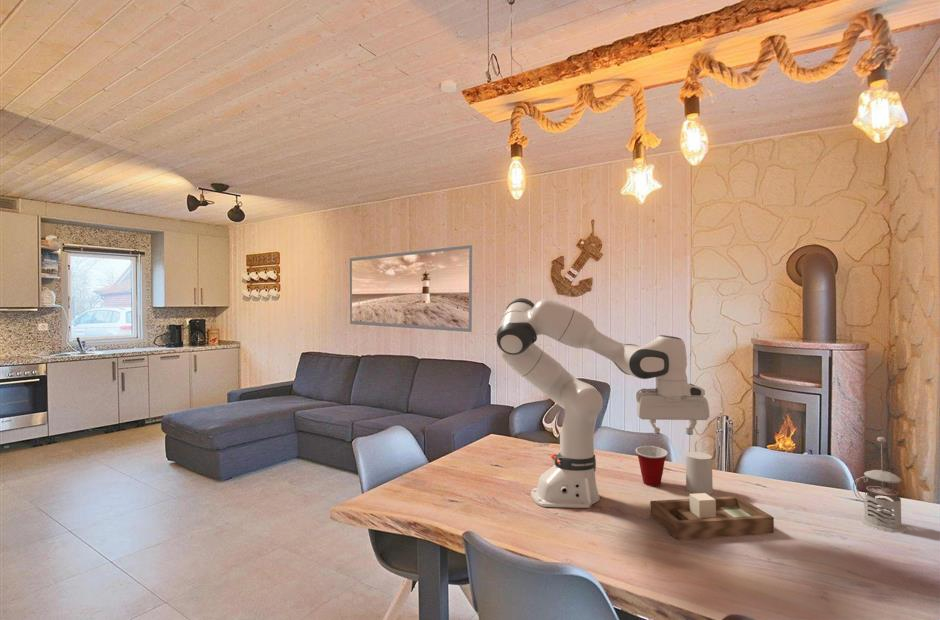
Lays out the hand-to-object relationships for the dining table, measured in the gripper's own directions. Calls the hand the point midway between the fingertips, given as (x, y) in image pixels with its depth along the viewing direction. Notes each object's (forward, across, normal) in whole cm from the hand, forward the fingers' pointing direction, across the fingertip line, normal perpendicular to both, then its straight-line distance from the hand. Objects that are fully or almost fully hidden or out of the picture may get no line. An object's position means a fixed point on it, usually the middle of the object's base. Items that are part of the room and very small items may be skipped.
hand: (673, 434), depth 142 cm
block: (+22, +7, -3) cm, 24 cm away
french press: (+25, +56, +2) cm, 61 cm away
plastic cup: (+24, -2, +26) cm, 35 cm away
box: (+24, +8, -6) cm, 26 cm away
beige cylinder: (+25, +13, +21) cm, 35 cm away
